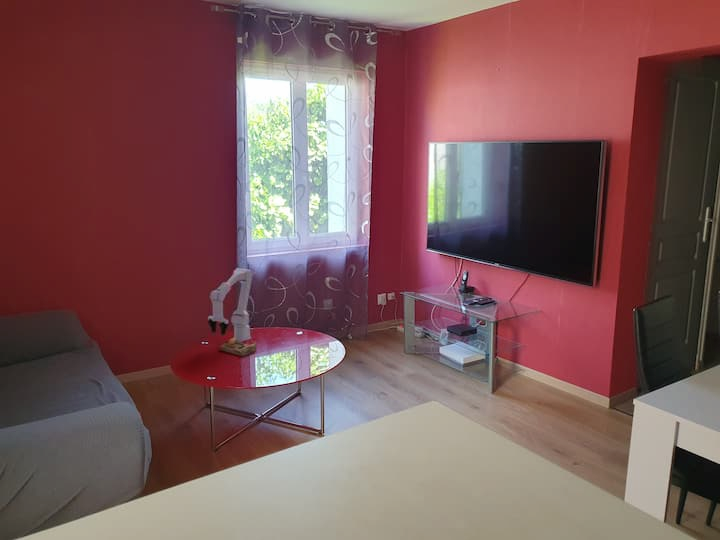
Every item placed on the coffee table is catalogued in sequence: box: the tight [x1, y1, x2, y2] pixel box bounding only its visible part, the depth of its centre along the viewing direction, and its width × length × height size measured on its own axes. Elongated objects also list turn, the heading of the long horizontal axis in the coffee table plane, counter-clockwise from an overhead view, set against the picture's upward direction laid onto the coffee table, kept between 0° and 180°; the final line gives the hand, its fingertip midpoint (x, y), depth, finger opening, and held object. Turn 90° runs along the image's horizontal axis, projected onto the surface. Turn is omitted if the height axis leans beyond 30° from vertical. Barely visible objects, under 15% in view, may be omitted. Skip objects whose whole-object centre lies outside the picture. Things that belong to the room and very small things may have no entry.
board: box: [219, 341, 257, 357], centre depth 326 cm, size 11×18×4 cm, turn 58°
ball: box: [228, 338, 235, 345], centre depth 329 cm, size 4×4×4 cm
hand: (218, 333), depth 327 cm, fingers open, 7 cm apart
